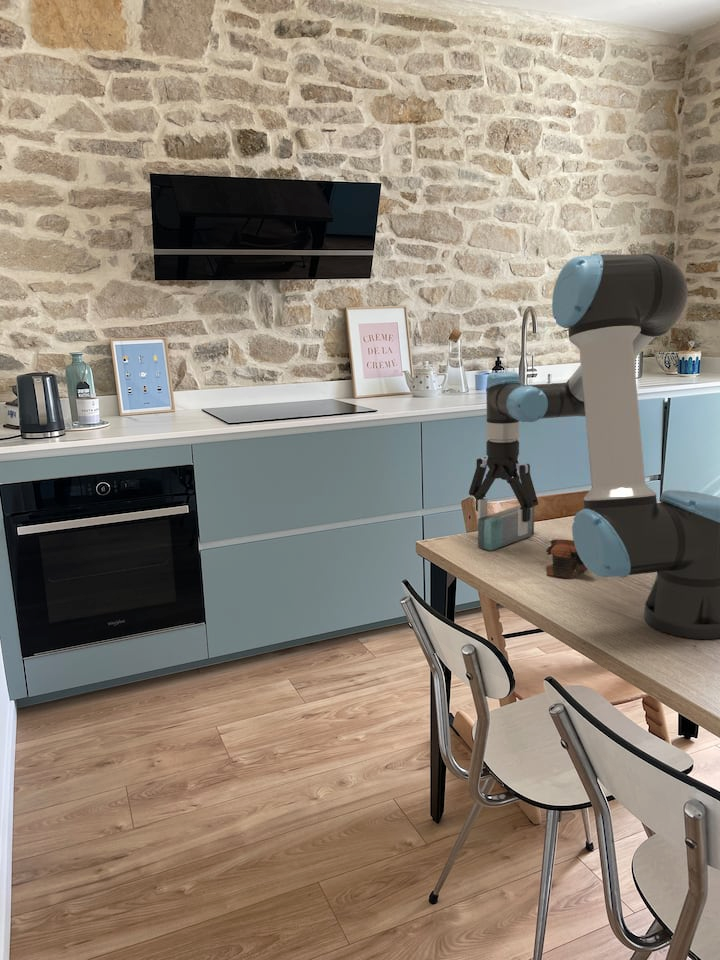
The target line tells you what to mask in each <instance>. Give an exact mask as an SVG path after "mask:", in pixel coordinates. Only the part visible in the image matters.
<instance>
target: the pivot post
mask: <svg viewBox="0 0 720 960" xmlns="http://www.w3.org/2000/svg"><path fill="white" fill-rule="evenodd" d="M531 508H533V515H532V536H533V535H534V534H535V506H533V507H531Z"/></svg>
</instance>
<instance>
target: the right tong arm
mask: <svg viewBox="0 0 720 960" xmlns="http://www.w3.org/2000/svg"><path fill="white" fill-rule="evenodd" d="M532 515H533V508H530V521H528V530H527V534H524V535H522V536H519V535H518V510H515V511H512V512H509V513H506V514H503V515H500V516H496V517H493V518H490V519H487V520H484V549H483V550H486V551H495V550H498V548H499V549H500V548H502V547H504V546H507V545H510V544H513V543H516V542H519V541H521V540H524V539H526V538H527V539H528V538H531V537H532V536H533V535H532Z"/></svg>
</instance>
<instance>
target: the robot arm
mask: <svg viewBox="0 0 720 960" xmlns="http://www.w3.org/2000/svg"><path fill="white" fill-rule="evenodd" d="M687 283H688V282H687V280H686V277H685V275H684V273H683V271H682V270H681V268H680V267H679V265H677V264H676V263H675V262H674V261H673V260H671V259H669V258H667V257H666V256H664V255H661V254H655V253H642V254H639V253H637V254H636V253H635V254H631V253H629V254H628V253H627V254H624V253H623V254H599V253H595V254H592V255H580V256H576V257H573V258H571V259H569V261H567V262H566V263H565V264H564V266H563V267H562V268H561V270H560V272H559V273H558V275H557V278H556V281H555V284H554V287H553V290H552V291H553V293H552V302H551V307H552V316H553V319H554V320H555V324H556V325H558V327H561V328H564V329H568V340H569V342H570V343H571V344H572V345H574V346H575V347H576V348H578V349H579V359H580V360H579V361H580V365H579V366H578V368H577V369H576V370H575V371H574V373H573V374H572V375H571V376H570V377H569V379H567V381H566V382H556V383H555V382H554V383H541V384H521V383H522V382H521V377H520V374H519V373H517V372H510V371H509V372H505V371H503V372H500V371H499V372H492V373H490V374H488V375H487V378H486V388H485V392H486V394H485V395H486V426H485V427H486V430H485V431H486V433H485V437H486V439H487V440H486V447H485V448H486V456H487V457H486V456H485V457H480V458H477V459H476V467H475V471H474V474H473V477H472V481H471V484H470V487H469V490H468V495H469V496H473V497H474V499H475V510H476V512H477V520H478V519H479V518H482V517H485V516H488V498H487V496H486V495H487V493H488V491H489V490H490V489H491V487H492V485H493V484H494V482H495V481H496V479H500V480H503V481H506V482H507V484H509V485H510V486H509V487H511V490H512V491H513V493H514V495H515V497H516V498H515V499H517V501H518V504H519V506H521V507H520V508H518V535H519V536H522V535H524V534H527V530H528V521H530V508H531V507H533V506H534V507H537V506H538V505H539V501H538V497H537V494H536V490H535V487H534V484H533V479H532V476H531V466H530V463H525V464H523V463H519V460H518V459H519V456H520V441H519V440H518V439H519V437H520V422H522V423H534V422H535V423H536V422H537V421H539V420H543V419H553V418H566V417H571V418H572V417H585V427H586V436H587V437H586V438H587V449H588V459H589V472H590V482H591V488H590V490H589V492H587V494H586V495H585V496H584V497H583V509H581V510H579V511H577V512H576V514H575V515H574V517H573V522H572V530H571V532H572V540H573V541H574V544H575V548H576V550H577V553H578V555H579V557H580V559H581V561H582V562H583V563H584V565H585V566H586V568H587V570H588V571H589V572H590V573H592V574H593V575H595V576H597V577H601V578H615V577H617V578H626V577H628V576H635V575H642V574H643V575H644V574H652V573H656V578H655V580H654V582H653V585H652V587H651V589H650V591H649V594H648V595H647V597H646V601H645V604H644V608H643V609H644V613H643V619H644V620H645V622H646V623H647V624H648V625H649V626H651V627H652V628H654V629H656V630H657V631H661V632H663V633H666V634H668V635H672V636H676V637H681V638H687V639H696V640H715V639H720V497H719V496H716V495H712V494H707V493H701V492H695V491H690V490H681V489H680V490H675V489H670V490H664V491H663V492H662V493H661V495H660V497H659V500H660V502H658V501H657V500H658V499H657V493H656V492H655V491H654V490H653V489H652V488H651V487H649V486H648V485H647V484H646V476H645V475H646V474H645V468H644V467H645V464H644V454H643V446H642V445H643V444H642V443H643V442H642V433H641V422H640V409H639V400H638V388H637V378H636V366H635V359H636V358H638V356H639V355H640V354H641V353H642V352H643V351H644V349H645V348H646V347H647V346H648V345H649V344H651V342H652V341H653V340H654V339H655V338H660V337H662V336H665V335H666V334H667V333H668V332H669V331H670V330H671V329H672V328H673V327H674V325H675V324H676V323H677V322H678V320H679V319H680V317H681V316H682V314H683V312H684V310H685V308H686V305H687V302H688V301H687V300H688V295H689V293H688V291H689V290H688V284H687ZM487 468H488V471H487ZM486 471H487V472H486ZM484 477H485V478H484Z"/></svg>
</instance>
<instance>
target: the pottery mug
mask: <svg viewBox="0 0 720 960" xmlns="http://www.w3.org/2000/svg"><path fill="white" fill-rule="evenodd" d="M545 553H546V554H547V556H550V555H552V557H551V558H552V564H547V565H546V566H545V569H546V576H549V577H550V576H551V577H552V576H555V577H559V578H565V579H570V580H572V579H574V574H575V572H576V573H577V574H578V575H579V576H581V575H582V574H584V573H585V571H587V570H588V569H587V568H586V566H585V565H584V563H583V562H582V561H581V559H580V557H579V555H578V553H577V550H576V548H575V544H574V540H573V539H561V538H560V539H552V540H551V541H550V545H549V546H548V547H547V549H545Z"/></svg>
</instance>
